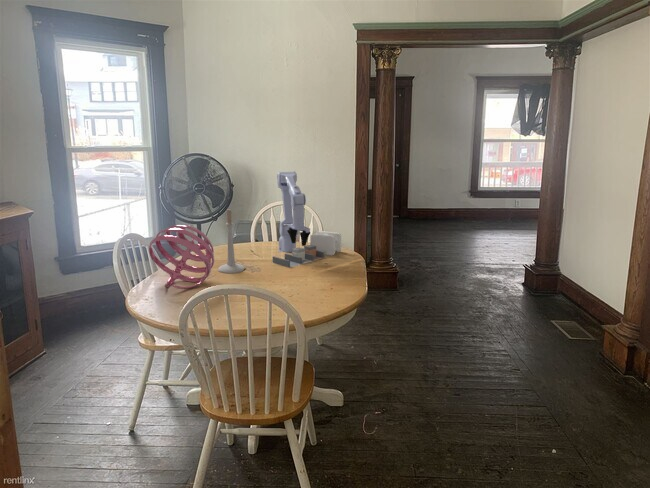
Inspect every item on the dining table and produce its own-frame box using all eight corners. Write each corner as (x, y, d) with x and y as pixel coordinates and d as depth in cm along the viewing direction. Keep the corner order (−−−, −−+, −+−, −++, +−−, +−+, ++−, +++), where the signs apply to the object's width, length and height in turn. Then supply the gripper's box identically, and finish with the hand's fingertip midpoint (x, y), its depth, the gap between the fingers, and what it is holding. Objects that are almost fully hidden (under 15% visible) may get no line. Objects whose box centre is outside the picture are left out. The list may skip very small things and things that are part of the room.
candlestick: (239, 274, 236) (236, 211, 229) (213, 272, 239) (210, 210, 232) (248, 266, 249) (246, 206, 242) (224, 265, 251) (221, 205, 244)
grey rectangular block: (292, 260, 257) (292, 248, 255) (299, 258, 260) (299, 247, 259) (297, 261, 254) (297, 250, 253) (304, 259, 258) (304, 248, 256)
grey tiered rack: (271, 263, 254) (271, 256, 253) (307, 255, 271) (307, 247, 270) (289, 269, 244) (289, 261, 243) (325, 259, 261) (325, 252, 261)
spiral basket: (168, 255, 193) (199, 207, 210) (121, 263, 207) (153, 217, 224) (210, 300, 209) (236, 252, 226) (164, 304, 223) (191, 258, 241)
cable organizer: (308, 254, 273) (308, 233, 270) (317, 250, 282) (317, 229, 279) (333, 257, 266) (333, 236, 263) (342, 253, 275) (342, 232, 272)
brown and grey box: (304, 257, 262) (304, 246, 261) (310, 255, 266) (310, 244, 265) (309, 258, 260) (309, 247, 258) (316, 256, 263) (316, 245, 262)
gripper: (283, 217, 254) (283, 243, 258) (302, 221, 245) (302, 248, 248) (293, 215, 259) (293, 241, 262) (312, 219, 249) (313, 245, 253)
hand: (298, 244), depth 255 cm, fingers open, 7 cm apart
